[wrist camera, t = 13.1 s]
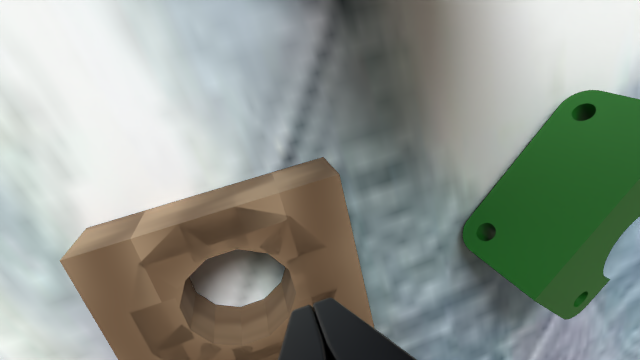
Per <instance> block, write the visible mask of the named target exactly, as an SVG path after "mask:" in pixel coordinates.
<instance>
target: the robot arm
mask: <svg viewBox="0 0 640 360" xmlns="http://www.w3.org/2000/svg"><path fill="white" fill-rule="evenodd" d="M278 360H417V359H415V358H414V357H413V356H411V355H410V354H408V353H407V352H406V351H404V350H403V349H402V348H400V347H399V346H397V345H396V344H395V343H393V342H392V341H391V340H389V339H388V338H387V337H385V336H384V335H382V334H381V333H380V332H378V331H377V330H376V329H374V328H373V327H371V326H370V325H369V324H367V323H366V322H365V321H363V320H362V319H361V318H359V317H358V316H356V315H355V314H354V313H352V312H351V311H350V310H348V309H347V308H345V307H344V306H343V305H341V304H340V303H339V302H337V301H336V300H334V299H333V298H326V299H323V300H320V301H318V302H315V303H314V304H313V308H312V306H311V305H306V306H304V307H301V308H298V309H295V310H293V311H292V312H291V315H290V319H289V322H288V326H287V329H286V333H285V336H284V340H283V343H282V347H281V350H280V354H279V357H278Z"/></svg>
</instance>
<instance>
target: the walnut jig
mask: <svg viewBox="0 0 640 360" xmlns="http://www.w3.org/2000/svg"><path fill="white" fill-rule="evenodd" d="M236 249H240V250H247V251H254V252H261V253H268V254H269V255H270V256H272V257H273V258H274V259H276V260H277V261H278V262H279V263H281V264H282V265H283V266H285V271H284V274H283V278H282V281H281V283H280V284H279V285H278V286H277V287H276V288H275V289H274V290H273V291H272V292H271V293H270V294H269V295H268V296H267V297H266V298H265V299H263V300H260V301H257V302H254V303H251V304H248V305H246V306H243V307H233V306H222V305H215V304H214V303H212V302H210V301H209V300H207V299H206V298H204V297H203V296H201V295H200V294H198V293H197V292H196V291H195V289H194V287H193V285H192V282H191V280H190V278H189V276H190V275H191V274H192V273H193V272H194V271H195V270H196V269H197V268H198V267H199V266H200V265H201V264H202V263H203V262H204V261H205V260H206V259H209V258H212V257H215V256H218V255H221V254H224V253H227V252H230V251H233V250H236ZM60 262H61V264H62V265H63V267H64V269H65V270H66V272H67V274H68V275H69V277H70V279H71V281H72V282H73V284H74V286H75V287H76V289H77V291H78V292H79V294H80V296H81V297H82V299H83V301H84V302H85V304H86V306H87V308H88V309H89V311H90V313H91V314H92V316H93V318H94V319H95V321H96V323H97V324H98V326H99V328H100V330H101V331H102V333H103V335H104V336H105V338H106V340H107V341H108V343H109V345H110V346H111V348H112V350H113V351H114V353H115V355H116V357H117V358H118V360H278V357H279V354H280V350H281V347H282V343H283V340H284V336H285V333H286V329H287V326H288V322H289V319H290V315H291V312H292V311H293V310H295V309H298V308H301V307H304V306H306V305H311V306H312V308H313V304H314V303H315V302H318V301H320V300H323V299H326V298H333V299H334V300H336V301H337V302H339V303H340V304H341V305H343V306H344V307H345V308H347V309H348V310H350V311H351V312H352V313H354V314H355V315H356V316H358V317H359V318H361V319H362V320H363V321H365V322H366V323H367V324H369V325H370V326H371V327H373V328H374V324H373V320H372V315H371V311H370V307H369V302H368V298H367V294H366V289H365V285H364V280H363V276H362V272H361V267H360V263H359V259H358V254H357V250H356V245H355V241H354V237H353V232H352V228H351V224H350V219H349V215H348V210H347V206H346V202H345V197H344V193H343V189H342V184H341V180H340V175H339V173H338V172H337V171H336V170H335V169H334V168H333V167H332V166H331V165H330V164H329V163H328V162H327V161H326V159H325V158H324V157H322V158H319V159H315V160H312V161H309V162H305V163H302V164H299V165H295V166H292V167H289V168H285V169H282V170H279V171H275V172H272V173H269V174H265V175H262V176H259V177H255V178H252V179H249V180H245V181H242V182H239V183H235V184H232V185H229V186H225V187H222V188H219V189H215V190H212V191H209V192H205V193H202V194H199V195H195V196H192V197H189V198H185V199H182V200H179V201H176V202H172V203H169V204H166V205H162V206H159V207H156V208H152V209H149V210H146V211H142V212H139V213H136V214H132V215H129V216H126V217H122V218H119V219H116V220H112V221H109V222H106V223H102V224H99V225H96V226H92V227H89V228H86V230H85V231H84V232H83V233H82V234H81V236H80V237H79V238H78V239H77V240H76V242H75V243H74V244H73V245H72V246H71V248H70V249H69V250H68V251H67V253H66V254H65V255H64V256H63V257H62V259H61V260H60Z"/></svg>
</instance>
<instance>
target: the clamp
mask: <svg viewBox="0 0 640 360" xmlns="http://www.w3.org/2000/svg"><path fill="white" fill-rule="evenodd" d="M638 217H640V100H639V99H635V98H630V97H626V96H621V95H617V94H612V93H608V92H603V91H598V90H588V91H583V92H579V93H577V94H574V95H572V96H570V97H569V98H567V99H566V100H565V101H563V102H562V103H561V105H560V106H559V107H558V108H557V109H556V111H555V112H554V113H553V114H552V116H551V117H550V118H549V119H548V121H547V122H546V123H545V124H544V126H543V127H542V128H541V129H540V131H539V132H538V133H537V134H536V136H535V137H534V138H533V139H532V141H531V142H530V143H529V144H528V146H527V147H526V148H525V149H524V151H523V152H522V153H521V154H520V155H519V157H518V158H517V159H516V160H515V162H514V163H513V164H512V165H511V167H510V168H509V169H508V170H507V172H506V173H505V174H504V175H503V177H502V178H501V179H500V180H499V182H498V183H497V184H496V185H495V187H494V188H493V189H492V190H491V192H490V193H489V194H488V195H487V197H486V198H485V199H484V200H483V202H482V203H481V204H480V205H479V207H478V208H477V209H476V210H475V212H474V213H473V214H472V215H471V217H470V218H469V219H468V220H467V222H466V223H465V226H464V228H463V240H464V243H465V245H466V247H467V248H468V249H469V250H470V251H471V252H473V253H474V254H475V255H477V256H478V257H479V258H480V259H482V260H483V261H484V262H486V263H487V264H488V265H489V266H491V267H492V268H493V269H494V270H496V271H497V272H498V273H500V274H501V275H502V276H503V277H505V278H506V279H507V280H509V281H510V282H511V283H512V284H514V285H515V286H516V287H518V288H519V289H520V290H521V291H523V292H524V293H525V294H526V295H528V296H529V297H530V298H532V299H533V300H534V301H536V302H537V303H539V304H540V305H542V306H544V307H545V308H547V309H549V310H550V311H552V312H553V313H555V314H557V315H558V316H560V317H561V318H563V319H570V318H572V317H574V316H576V315H577V314H578V313H580V312H581V311H582V310H583V309H584V308H585V307H586V306H587V305H588V304H589V303H590V302H591V300H592V299H593V298H594V297H595V296H596V295H597V294H598V293H599V291H600V290H601V289H602V288H603V287H604V286H605V285H606V284H607V282H608V281H609V280H610V279H608V278H607V277H605V276H604V275H603V268H604V264H605V261H606V259H607V257H608V254H609V253H610V251H611V249H612V247H613V246H614V244H615V243H616V241H617V240H618V239H619V237H620V236H621V235H622V234H623V232H624V231H625V230H626V229H627V228H628V227H629V226H630V225H631V224H632V223H633V222H634V221H635V220H636V219H637V218H638Z"/></svg>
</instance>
